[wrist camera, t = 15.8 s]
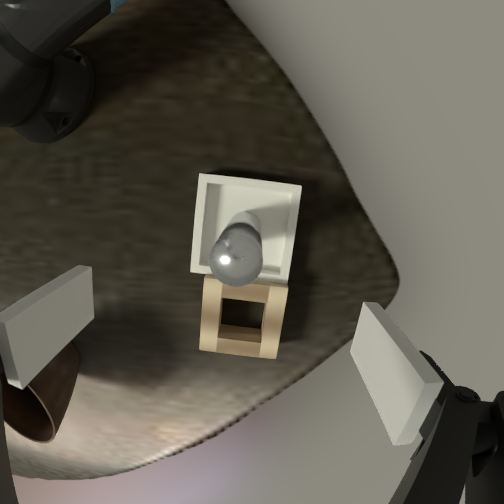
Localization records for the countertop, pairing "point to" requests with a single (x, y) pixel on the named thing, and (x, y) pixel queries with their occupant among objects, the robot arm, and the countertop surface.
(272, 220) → the tray
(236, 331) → the beige square frame
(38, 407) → the plant pot
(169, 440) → the countertop surface
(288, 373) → the countertop surface
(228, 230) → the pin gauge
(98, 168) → the countertop surface
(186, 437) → the countertop surface
